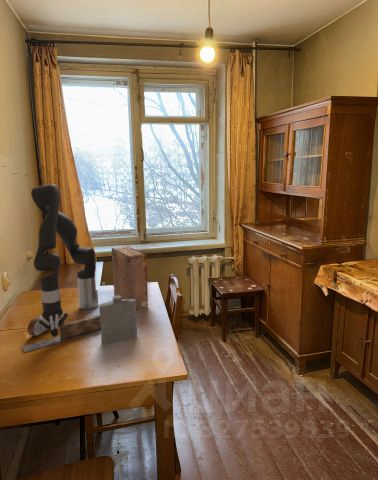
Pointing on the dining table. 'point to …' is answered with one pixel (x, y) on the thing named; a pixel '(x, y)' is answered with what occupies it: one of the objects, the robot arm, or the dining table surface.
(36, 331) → the tin
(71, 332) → the brown wooden block
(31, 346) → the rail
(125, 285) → the book
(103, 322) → the hip flask
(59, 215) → the robot arm
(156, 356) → the dining table surface
